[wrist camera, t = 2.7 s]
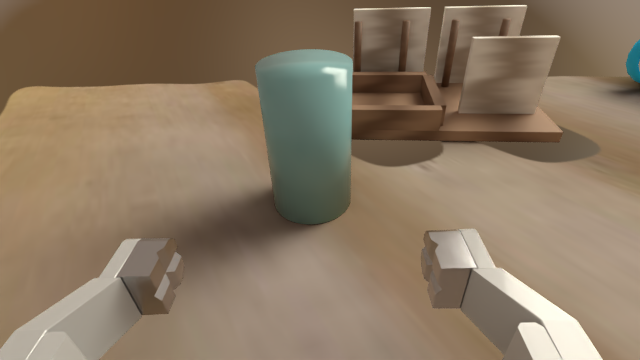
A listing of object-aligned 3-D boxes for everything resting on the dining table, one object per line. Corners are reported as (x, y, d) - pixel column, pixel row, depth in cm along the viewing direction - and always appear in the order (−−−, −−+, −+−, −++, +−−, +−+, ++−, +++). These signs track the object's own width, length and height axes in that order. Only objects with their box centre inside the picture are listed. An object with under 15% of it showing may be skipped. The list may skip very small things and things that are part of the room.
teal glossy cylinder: (267, 222, 24) (243, 80, 18) (282, 176, 29) (266, 49, 23) (349, 225, 24) (351, 80, 18) (351, 177, 28) (353, 48, 22)
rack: (333, 139, 33) (332, 39, 28) (341, 84, 45) (340, 6, 39) (559, 142, 31) (602, 35, 26) (507, 84, 43) (530, 2, 37)
